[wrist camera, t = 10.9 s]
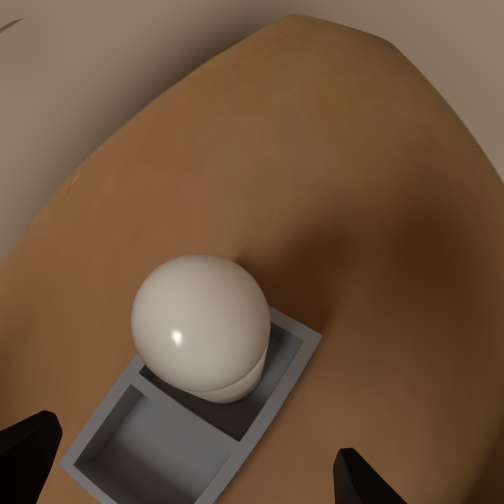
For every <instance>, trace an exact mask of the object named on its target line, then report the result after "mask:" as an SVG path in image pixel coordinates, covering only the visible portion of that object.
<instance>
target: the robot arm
mask: <svg viewBox="0 0 504 504" xmlns="http://www.w3.org/2000/svg"><path fill="white" fill-rule="evenodd" d="M61 438H62V428H61V426H60V423H59V421H58V419H57V416H56V414H55V413H53V412H50V411H47V410H43V411H41V412H39V413H37V414H35V415H33V416H31V417H29V418H27V419H25V420H23V421H21V422H19V423H16V424H14V425H12V426H10V427H8V428H6V429H4V430H2V431H0V504H36V502H37V500H38V498H39V495H40V493H41V491H42V488H43V486H44V484H45V482H46V479H47V477H48V475H49V473H50V470H51V468H52V465H53V462H54V459H55V456H56V453H57V449H58V447H59V444H60V441H61ZM333 476H334V492H335V504H407V503H406V502H405V501H404V500H403V499H402V498H401V497H400V496H399V495H398V494H397V493H396V492H395V491H394V490H393V489H392V488H391V487H390V486H389V485H388V484H387V483H386V482H385V481H384V480H383V479H382V477H381V476H380V475H379V474H378V473H377V472H376V471H375V470H374V469H373V468H372V467H371V466H370V465H369V464H368V463H367V462H366V461H365V460H364V459H363V458H362V457H361V456H360V454H359V453H358V452H357V451H356V450H355V449H353V448H342V449H340V450H339V451H338V454H337V457H336V459H335V462H334V466H333Z"/></svg>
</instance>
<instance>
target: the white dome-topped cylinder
mask: <svg viewBox="0 0 504 504" xmlns="http://www.w3.org/2000/svg"><path fill="white" fill-rule="evenodd" d="M131 330H132V337H133V341H134V344H135V346H136V349H137V351H138V353H139V355H140V357H141V358H142V360H143V362H144V363H145V364H146V366H147V367H148V368H149V369H150V370H151V371H152V372H153V373H154V374H155V375H156V376H158V377H159V378H160V379H162V380H163V381H164V382H166V383H168V384H170V385H172V386H174V387H176V388H178V389H181V390H183V391H185V392H188V393H190V394H192V395H195V396H197V397H200V398H202V399H204V400H207V401H209V402H212V403H215V404H221V405H229V404H235V403H238V402H241V401H243V400H245V399H246V398H248V397H249V396H250V395H251V394H252V393H253V392H254V391H255V390H256V388H257V387H258V385H259V383H260V380H261V377H262V372H263V367H264V362H265V357H266V352H267V347H268V342H269V336H270V312H269V307H268V304H267V301H266V298H265V296H264V293H263V291H262V290H261V288H260V286H259V285H258V283H257V282H256V281H255V279H254V278H253V277H252V276H251V275H250V274H249V273H248V272H247V271H246V270H245V269H243V268H242V267H241V266H239V265H238V264H236V263H234V262H233V261H231V260H229V259H226V258H224V257H220V256H217V255H213V254H206V253H193V254H186V255H181V256H178V257H175V258H173V259H171V260H168V261H166V262H165V263H163V264H161V265H160V266H159V267H157V268H156V269H155V270H154V271H153V272H151V273H150V274H149V275H148V277H147V278H146V279H145V280H144V282H143V283H142V285H141V286H140V288H139V290H138V292H137V294H136V297H135V299H134V303H133V306H132V312H131Z"/></svg>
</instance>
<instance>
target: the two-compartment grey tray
mask: <svg viewBox="0 0 504 504" xmlns="http://www.w3.org/2000/svg"><path fill="white" fill-rule="evenodd" d="M268 307H269V312H270V336H269V342H268V347H267V352H266V357H265V362H264V367H263V372H262V377H261V380H260V383H259V385H258V387H257V388H256V390H255V391H254V392H253V393H252V394H251V395H250V396H249V397H248V398H246V399H245V400H243V401H241V402H238V403H235V404H229V405H221V404H215V403H212V402H209V401H207V400H204V399H202V398H200V397H197V396H195V395H192V394H190V393H188V392H185V391H183V390H181V389H178V388H176V387H174V386H172V385H170V384H168V383H166V382H164V381H163V380H162V379H160V378H159V377H158V376H156V375H155V374H154V373H153V372H152V371H151V370H150V369H149V368H148V367H147V366H146V364H145V363H144V362H143V360H142V358H141V357H140V355H139V353H138V352H137V354H136V355H135V356H134V358H133V359H132V360H131V362H130V363H129V364H128V366H127V367H126V369H125V370H124V371H123V373H122V374H121V375H120V377H119V378H118V380H117V381H116V382H115V384H114V385H113V387H112V388H111V389H110V391H109V392H108V394H107V395H106V396H105V398H104V399H103V401H102V402H101V403H100V405H99V406H98V408H97V409H96V410H95V412H94V413H93V415H92V416H91V418H90V419H89V420H88V422H87V423H86V425H85V426H84V428H83V429H82V430H81V432H80V433H79V435H78V436H77V438H76V439H75V441H74V442H73V443H72V445H71V446H70V448H69V449H68V451H67V452H66V454H65V455H64V457H63V458H62V460H61V461H60V462H59V465H60V466H61V467H62V468H63V469H64V470H65V471H66V472H67V473H68V474H69V475H70V476H71V477H72V478H73V479H74V480H75V481H76V482H78V483H79V484H80V485H81V486H82V487H83V488H84V489H85V490H86V491H87V492H89V493H90V494H91V495H92V496H93V497H94V498H96V499H97V500H98V501H99V502H100V503H101V504H213V503H214V502H215V500H216V499H217V498H218V496H219V495H220V494H221V492H222V491H223V490H224V489H225V487H226V486H227V485H228V483H229V482H230V481H231V479H232V478H233V476H234V475H235V474H236V472H237V471H238V470H239V468H240V467H241V465H242V464H243V463H244V461H245V460H246V458H247V457H248V456H249V454H250V453H251V451H252V450H253V448H254V447H255V445H256V444H257V442H258V441H259V440H260V438H261V437H262V435H263V434H264V432H265V431H266V429H267V428H268V426H269V424H270V423H271V421H272V420H273V418H274V417H275V415H276V414H277V412H278V411H279V409H280V407H281V406H282V404H283V403H284V401H285V399H286V398H287V396H288V395H289V393H290V391H291V390H292V388H293V386H294V385H295V383H296V381H297V380H298V378H299V376H300V375H301V373H302V371H303V370H304V368H305V366H306V364H307V363H308V361H309V359H310V357H311V356H312V354H313V352H314V350H315V349H316V347H317V345H318V343H319V342H320V340H321V338H322V336H323V335H321V334H319V333H317V332H316V331H314V330H312V329H310V328H308V327H307V326H305V325H303V324H301V323H299V322H298V321H296V320H294V319H292V318H290V317H289V316H287V315H285V314H283V313H282V312H280V311H278V310H276V309H275V308H273V307H271V306H269V305H268Z"/></svg>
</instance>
